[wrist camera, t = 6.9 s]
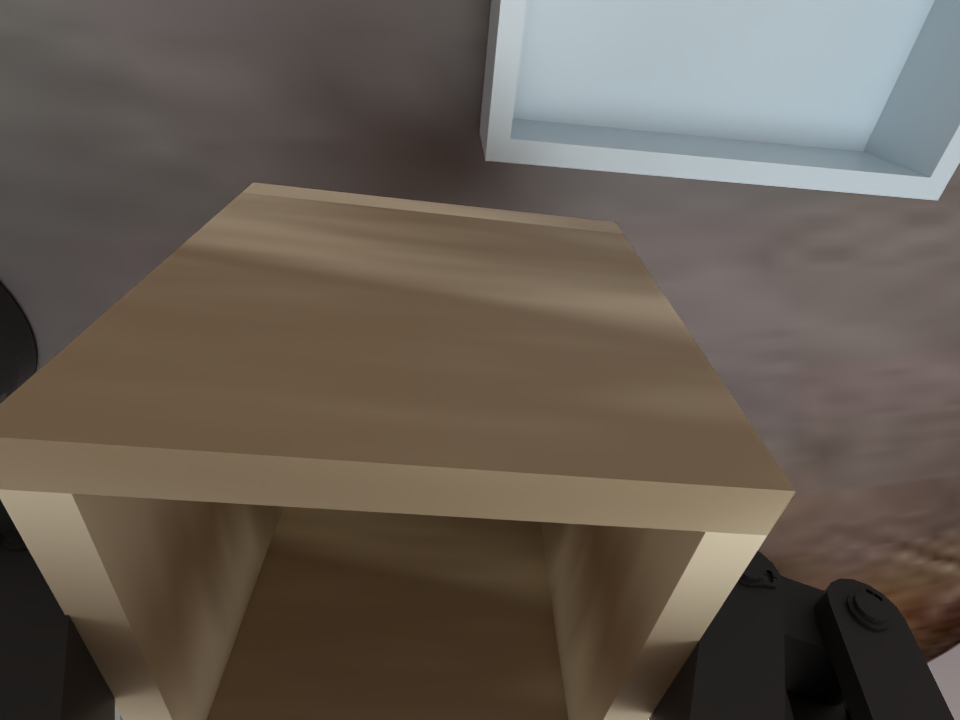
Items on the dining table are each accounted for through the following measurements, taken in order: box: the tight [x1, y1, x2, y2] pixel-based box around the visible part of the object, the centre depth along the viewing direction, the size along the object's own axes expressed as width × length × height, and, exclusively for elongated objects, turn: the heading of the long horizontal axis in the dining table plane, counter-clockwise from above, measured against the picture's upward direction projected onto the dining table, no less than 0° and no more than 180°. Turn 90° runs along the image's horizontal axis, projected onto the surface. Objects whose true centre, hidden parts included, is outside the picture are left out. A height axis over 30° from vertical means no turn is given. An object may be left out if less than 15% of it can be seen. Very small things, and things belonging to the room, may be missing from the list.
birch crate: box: [0, 182, 796, 720], centre depth 12 cm, size 9×9×9 cm
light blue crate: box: [480, 0, 960, 200], centre depth 23 cm, size 14×22×6 cm, turn 85°
